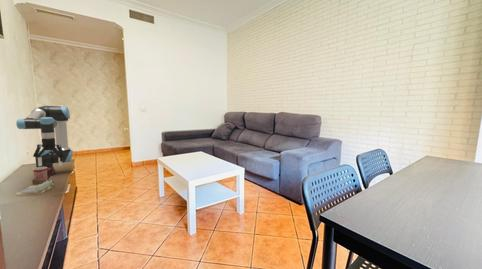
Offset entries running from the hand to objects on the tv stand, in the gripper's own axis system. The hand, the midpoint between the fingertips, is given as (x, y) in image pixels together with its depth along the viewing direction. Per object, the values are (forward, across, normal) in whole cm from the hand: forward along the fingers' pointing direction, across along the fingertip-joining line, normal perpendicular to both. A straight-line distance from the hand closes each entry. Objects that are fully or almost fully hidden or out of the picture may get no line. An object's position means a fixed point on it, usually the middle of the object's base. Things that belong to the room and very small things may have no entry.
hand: (50, 165), depth 163 cm
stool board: (+21, -13, +3) cm, 24 cm away
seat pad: (+19, -14, 0) cm, 23 cm away
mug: (+21, -17, +20) cm, 34 cm away
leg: (+18, -7, +4) cm, 20 cm away
